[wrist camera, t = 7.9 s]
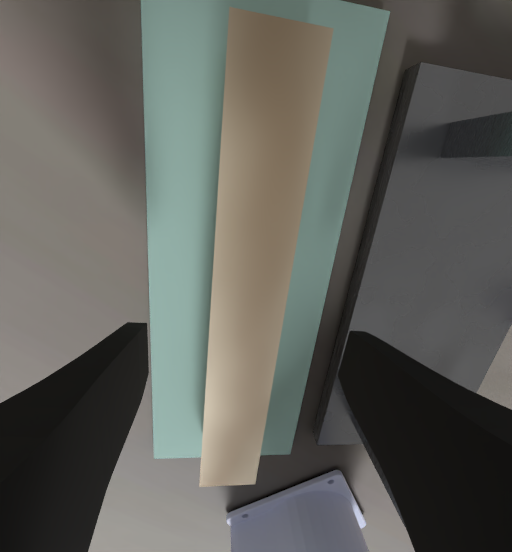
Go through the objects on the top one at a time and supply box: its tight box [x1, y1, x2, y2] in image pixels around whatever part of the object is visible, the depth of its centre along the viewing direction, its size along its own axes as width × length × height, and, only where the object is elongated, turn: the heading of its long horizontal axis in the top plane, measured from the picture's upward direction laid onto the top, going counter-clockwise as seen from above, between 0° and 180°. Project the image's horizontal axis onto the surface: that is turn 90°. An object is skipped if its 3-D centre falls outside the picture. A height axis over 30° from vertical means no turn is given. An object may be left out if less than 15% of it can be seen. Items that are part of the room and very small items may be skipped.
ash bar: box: [199, 7, 334, 487], centre depth 13 cm, size 3×20×3 cm, turn 174°
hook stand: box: [313, 62, 512, 527], centre depth 13 cm, size 10×21×6 cm, turn 174°
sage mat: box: [141, 0, 390, 459], centre depth 14 cm, size 9×24×1 cm, turn 174°
